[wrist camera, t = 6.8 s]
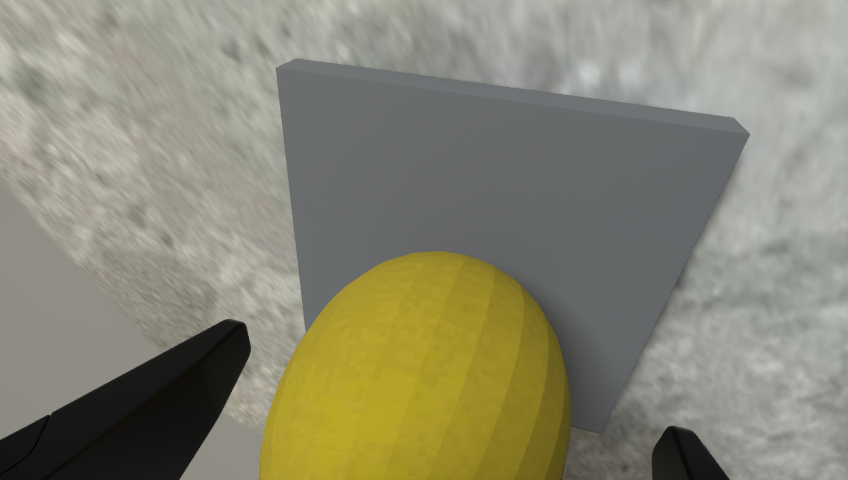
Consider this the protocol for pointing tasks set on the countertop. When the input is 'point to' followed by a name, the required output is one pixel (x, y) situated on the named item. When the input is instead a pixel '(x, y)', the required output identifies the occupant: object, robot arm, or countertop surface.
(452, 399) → the lemon
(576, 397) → the mat
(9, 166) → the countertop surface
